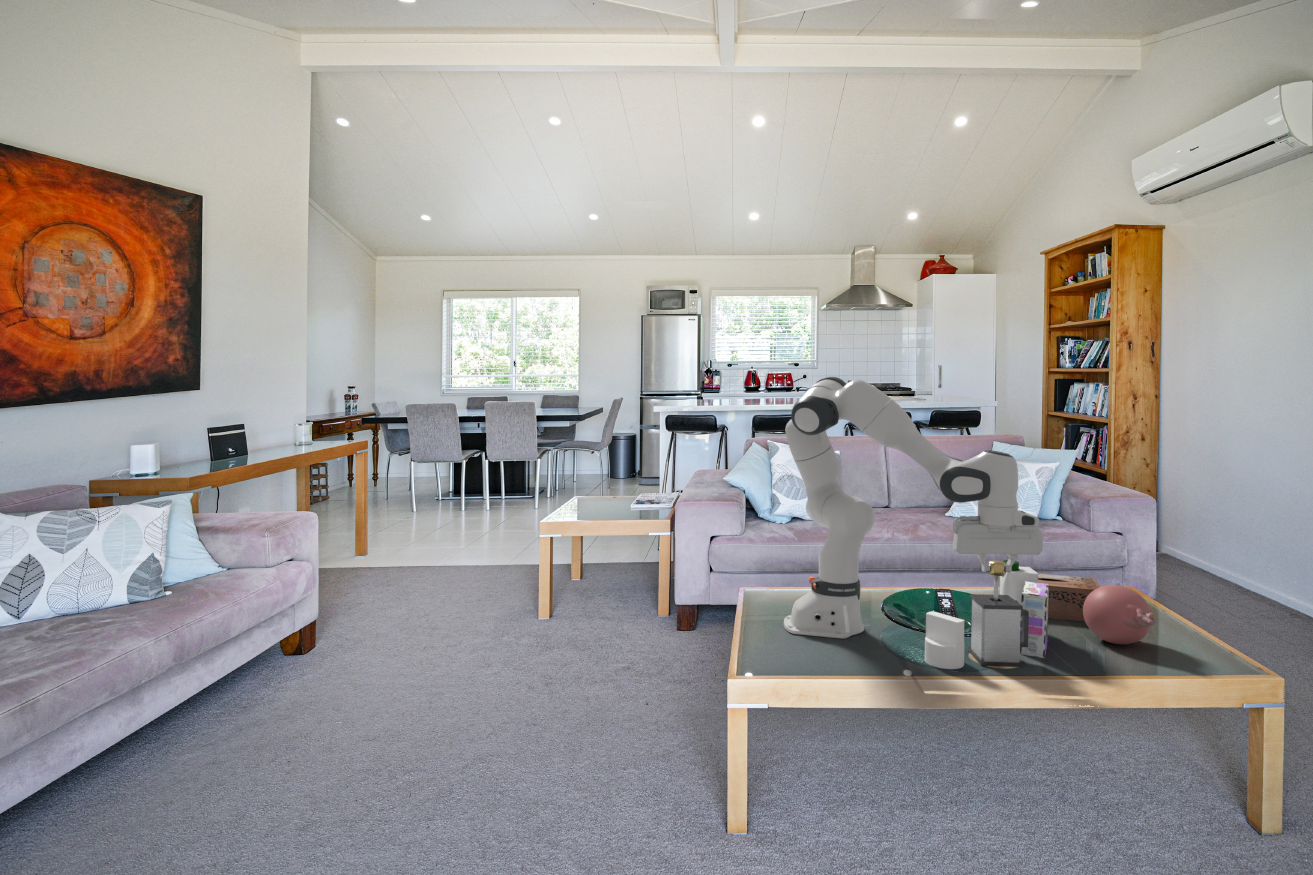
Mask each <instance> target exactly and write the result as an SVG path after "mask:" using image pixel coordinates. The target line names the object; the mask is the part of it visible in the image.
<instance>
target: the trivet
mask: <svg viewBox="0 0 1313 875" xmlns="http://www.w3.org/2000/svg"><path fill="white" fill-rule="evenodd" d="M968 659H970V661H972V662H974V663H976V664H979V663H978V661H977V660H976V659H975V658H974V657H973V656H972V655H971V654H970V653H969V652H968ZM1020 661H1021V662H1022V660H1021V659H1020ZM979 665H980V664H979ZM987 667H989V668H994V669H1003V670H1004V669H1006V670H1009V669H1017V668H1018V667H1004V666H987Z"/></svg>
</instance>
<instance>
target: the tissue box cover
mask: <svg viewBox="0 0 1313 875" xmlns="http://www.w3.org/2000/svg"><path fill="white" fill-rule="evenodd" d="M1037 573H1038V572H1037ZM1038 583H1044V584H1049V587H1048V595H1049V596H1048V619H1056V620H1057V619H1058V620H1067V621H1076V622H1077V621H1078V622H1085V619H1084V616H1083V605H1084V602H1085V600H1086V598H1087V596H1088V595H1089V594H1090V593H1091V592H1092V591H1094V590H1095V589H1097V588H1099V587H1101V586H1100V584H1099V583H1098V582H1097V581H1096V579H1095V578H1094V577H1086V576H1073V575H1062V574H1061V575H1060V574H1049V573H1038ZM998 595H1000V593H998Z"/></svg>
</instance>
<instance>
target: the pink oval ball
mask: <svg viewBox="0 0 1313 875" xmlns="http://www.w3.org/2000/svg"><path fill="white" fill-rule="evenodd" d="M1083 616H1084V619H1085V621H1084V622H1085V624H1086V626H1087V627H1088V628H1089V630H1090V631H1091V632H1092V633H1093V634H1094V635H1095V636H1097V637H1098V638H1099V639H1101V640H1103V641H1105V642H1107V643H1111V644H1114V645H1130V644H1134V643H1136V642H1139V641H1141V640H1142V639H1144V638H1145V637H1146V636H1147V635H1148V633H1150V630H1151V628H1152V626H1154V625H1156V623H1157V620H1156V618H1154V617H1155V614H1154V613H1153V612H1152V610H1151V607H1150V605H1149V603H1148V601H1147V600H1146V599H1145V598H1144V597H1143V596H1142V595H1141V594H1140V593H1138V592H1137V591H1136V590H1135V589H1134V590H1133V589H1132V588H1129V587H1127V586H1125V585H1120V584H1119V585H1117V584H1108V585H1103V586H1100V587H1099V588H1097V589H1095V590H1094V591H1092V592H1091V593H1090V594H1089V595H1088V596H1087V598H1086V600H1085V602H1084V605H1083Z"/></svg>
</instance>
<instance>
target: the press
mask: <svg viewBox="0 0 1313 875" xmlns="http://www.w3.org/2000/svg"><path fill="white" fill-rule="evenodd" d="M970 599H971V631H970V632H971V637H970V638H971V639H970V640H971V641H970V647H969V646H968V647H967V651H968V654H969V653H970V654H971V655H972V656H973V657H974V658H975V659H976V660H977V661H978V663H979V665H980V666H981V667H988V666H1004V667H1017V668H1023V667H1024V662H1023V661H1022V660H1021V658H1020V656H1021V654H1020V647H1028V629H1029V611H1027V610H1025V609H1023V606H1022V605H1021V604H1019V603H1018V602H1017V601H1015V600H1014V599H1013V598H1011V597H1010V596H1008V595H999V594H998V601H994V594H982V593H981V594H980V593H979V594H977V593H973V594H972V593H971V594H970ZM1021 615H1022V628H1021V641H1020V620H1021ZM1020 660H1021V661H1020ZM978 663H977V664H978Z"/></svg>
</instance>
